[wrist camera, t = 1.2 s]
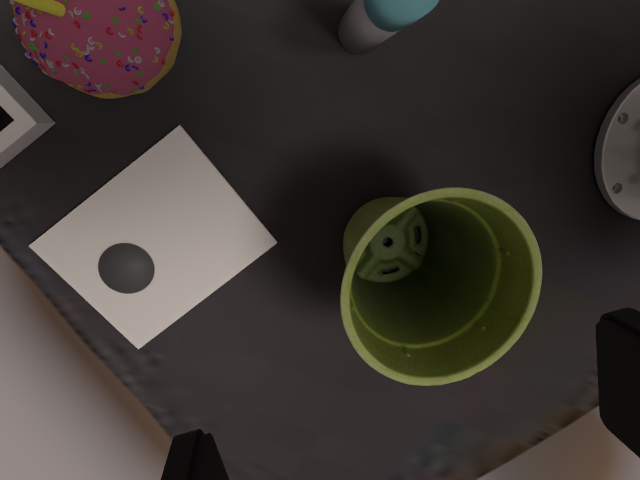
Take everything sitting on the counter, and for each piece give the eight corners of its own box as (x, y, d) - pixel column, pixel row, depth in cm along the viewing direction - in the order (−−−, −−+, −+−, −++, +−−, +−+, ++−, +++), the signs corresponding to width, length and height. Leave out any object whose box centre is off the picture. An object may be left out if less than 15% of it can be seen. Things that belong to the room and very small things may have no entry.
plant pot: (370, 333, 36) (416, 422, 25) (284, 229, 33) (296, 281, 22) (482, 250, 36) (577, 305, 25) (406, 135, 32) (480, 140, 21)
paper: (180, 125, 30) (179, 125, 29) (277, 241, 33) (277, 243, 33) (30, 244, 30) (27, 246, 30) (139, 347, 34) (138, 350, 33)
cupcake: (80, 112, 29) (-40, 105, 17) (33, -28, 26) (-144, -145, 15) (205, 88, 29) (170, 66, 18) (171, -50, 27) (103, -179, 15)
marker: (364, -3, 29) (422, -75, 19) (388, 37, 30) (457, -10, 20) (328, 25, 29) (366, -30, 19) (353, 64, 30) (403, 32, 20)
